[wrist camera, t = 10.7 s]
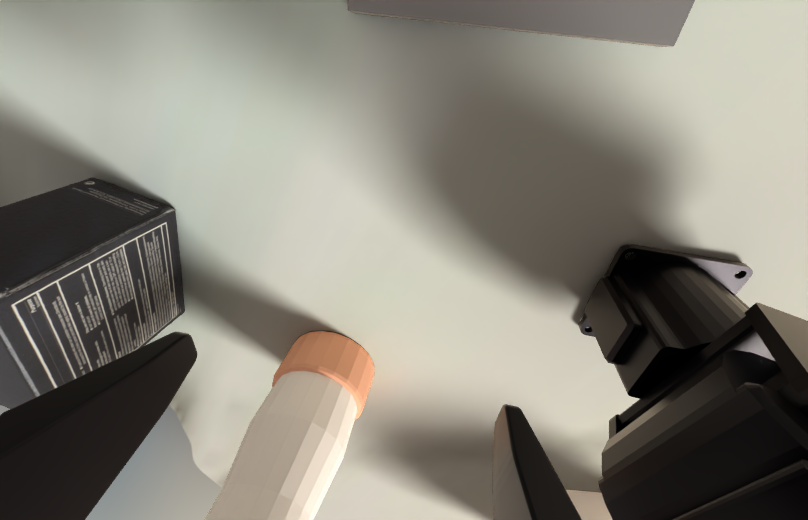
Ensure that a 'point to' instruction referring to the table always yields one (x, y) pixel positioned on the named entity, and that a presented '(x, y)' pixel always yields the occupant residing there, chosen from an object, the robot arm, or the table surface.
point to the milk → (589, 505)
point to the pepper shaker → (298, 432)
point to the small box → (82, 283)
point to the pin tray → (549, 16)
